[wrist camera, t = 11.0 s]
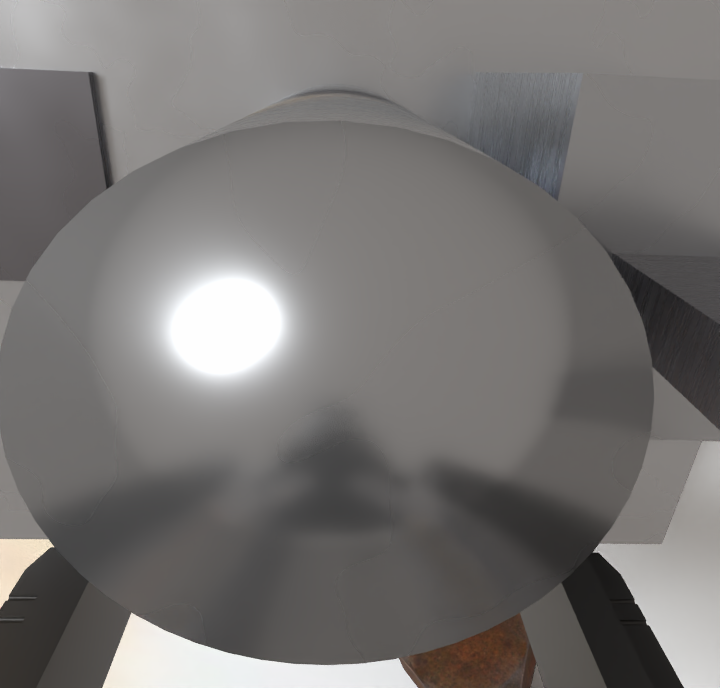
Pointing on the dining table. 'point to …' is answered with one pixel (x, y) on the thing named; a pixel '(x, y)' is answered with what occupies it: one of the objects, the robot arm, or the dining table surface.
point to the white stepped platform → (353, 304)
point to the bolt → (477, 660)
